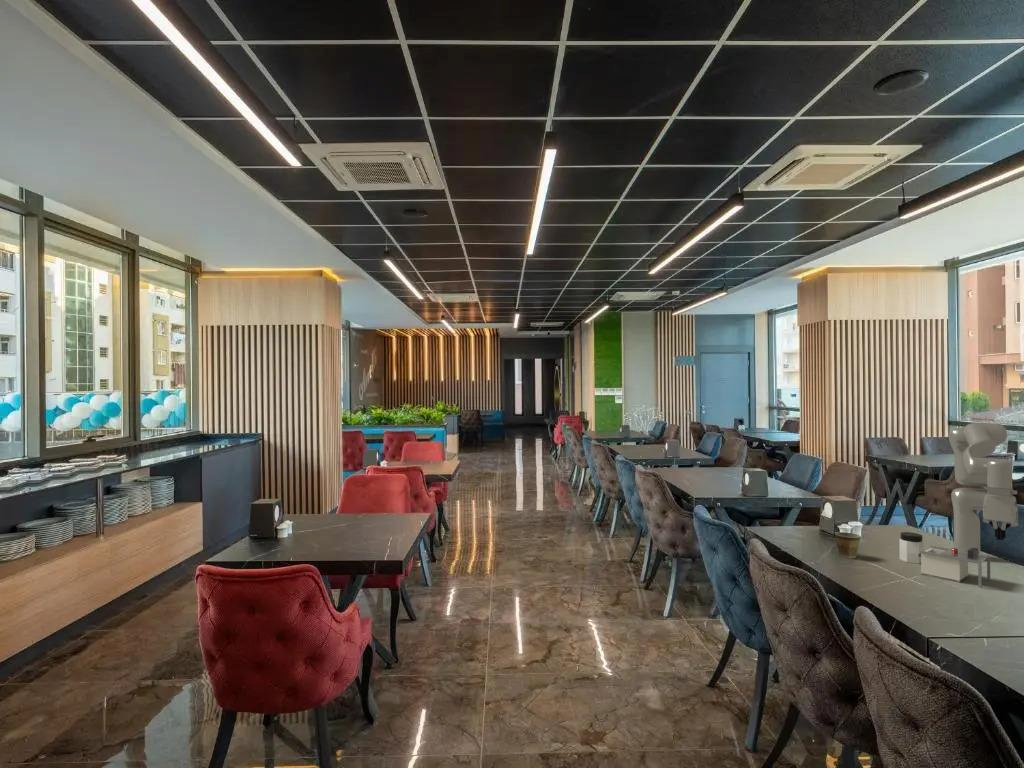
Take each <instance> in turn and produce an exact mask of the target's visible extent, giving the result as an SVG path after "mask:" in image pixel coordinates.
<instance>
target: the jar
mask: <svg viewBox="0 0 1024 768" xmlns="http://www.w3.org/2000/svg"><path fill="white" fill-rule="evenodd" d="M920 551H924V541H923V535H922V534H920V533H916V532H909V531H902V532H900V538H899V561H903V562H905V563H908V562H909V563H908V564H917V565H920V564H921V557H918V554H919V553H920Z"/></svg>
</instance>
